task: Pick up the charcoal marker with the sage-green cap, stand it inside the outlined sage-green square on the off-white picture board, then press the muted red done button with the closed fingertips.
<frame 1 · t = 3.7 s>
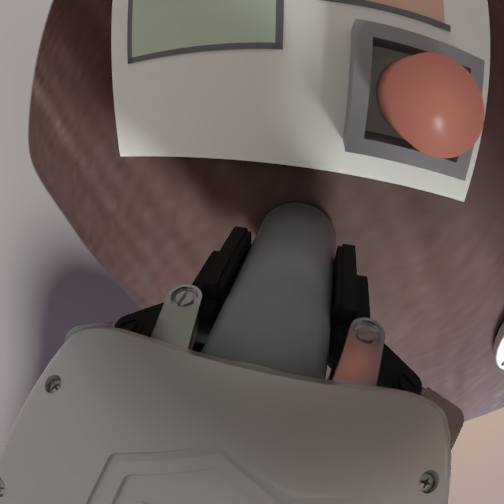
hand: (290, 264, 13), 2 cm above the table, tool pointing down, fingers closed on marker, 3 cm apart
marker: (297, 237, 14), on the table, touching gripper
done button: (428, 101, 6), point 3 cm above the table, slide at 0.0 cm
picture board: (290, 14, 8), on the table
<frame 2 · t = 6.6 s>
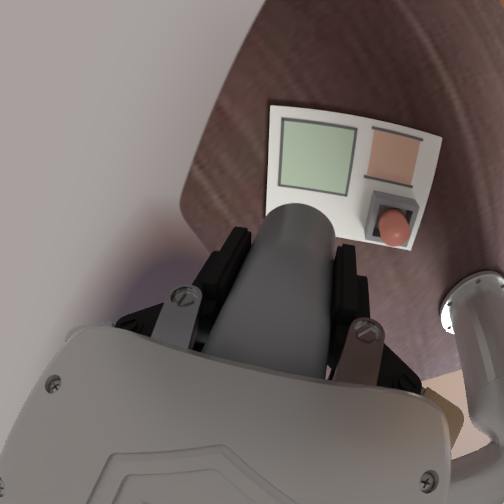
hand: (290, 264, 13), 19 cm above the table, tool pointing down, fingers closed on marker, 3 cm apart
marker: (297, 237, 14), point 16 cm above the table, touching gripper
done button: (393, 227, 26), point 3 cm above the table, slide at 0.0 cm
picture board: (351, 179, 28), on the table
when the fingers open (4 cm above the table, at t = 9.5 s): marker stays where it is, resting on picture board.
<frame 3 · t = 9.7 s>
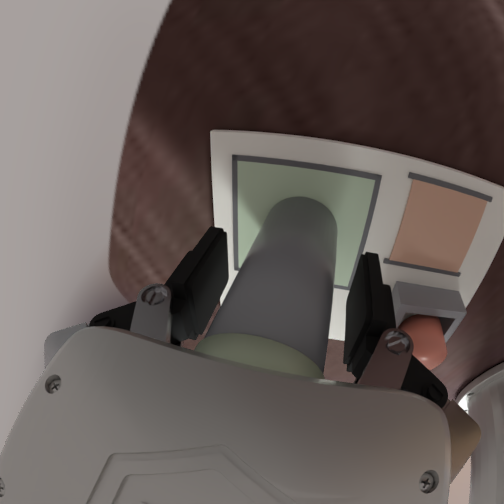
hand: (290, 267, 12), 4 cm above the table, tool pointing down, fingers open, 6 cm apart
marker: (301, 230, 15), point 1 cm above the table, touching picture board
done button: (421, 343, 14), point 3 cm above the table, slide at 0.0 cm
picture board: (360, 263, 16), on the table
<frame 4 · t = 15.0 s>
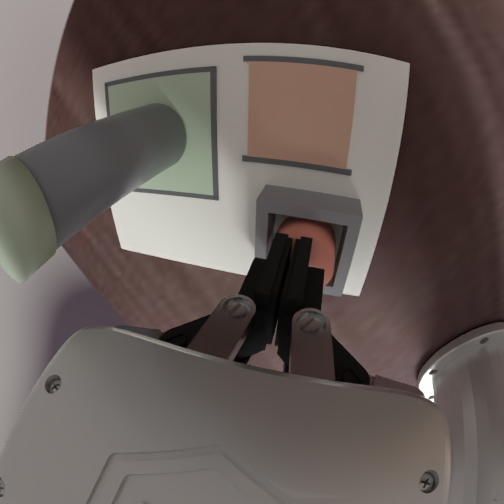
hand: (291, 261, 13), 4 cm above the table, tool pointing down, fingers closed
marker: (156, 136, 14), point 1 cm above the table, touching picture board
done button: (303, 252, 14), point 2 cm above the table, slide at 0.7 cm, touching gripper
picture board: (224, 168, 15), on the table
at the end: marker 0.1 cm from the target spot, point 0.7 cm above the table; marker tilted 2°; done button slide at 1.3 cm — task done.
